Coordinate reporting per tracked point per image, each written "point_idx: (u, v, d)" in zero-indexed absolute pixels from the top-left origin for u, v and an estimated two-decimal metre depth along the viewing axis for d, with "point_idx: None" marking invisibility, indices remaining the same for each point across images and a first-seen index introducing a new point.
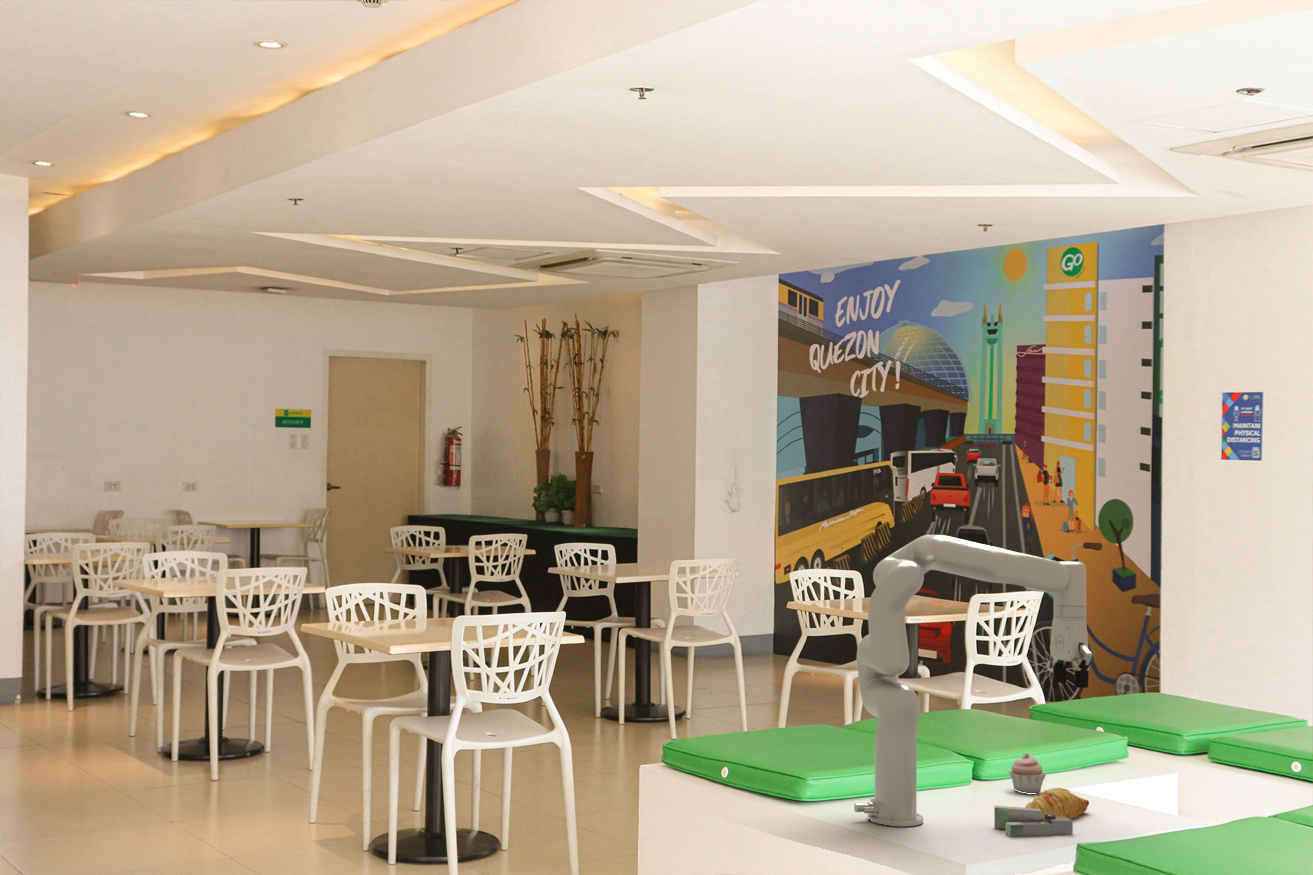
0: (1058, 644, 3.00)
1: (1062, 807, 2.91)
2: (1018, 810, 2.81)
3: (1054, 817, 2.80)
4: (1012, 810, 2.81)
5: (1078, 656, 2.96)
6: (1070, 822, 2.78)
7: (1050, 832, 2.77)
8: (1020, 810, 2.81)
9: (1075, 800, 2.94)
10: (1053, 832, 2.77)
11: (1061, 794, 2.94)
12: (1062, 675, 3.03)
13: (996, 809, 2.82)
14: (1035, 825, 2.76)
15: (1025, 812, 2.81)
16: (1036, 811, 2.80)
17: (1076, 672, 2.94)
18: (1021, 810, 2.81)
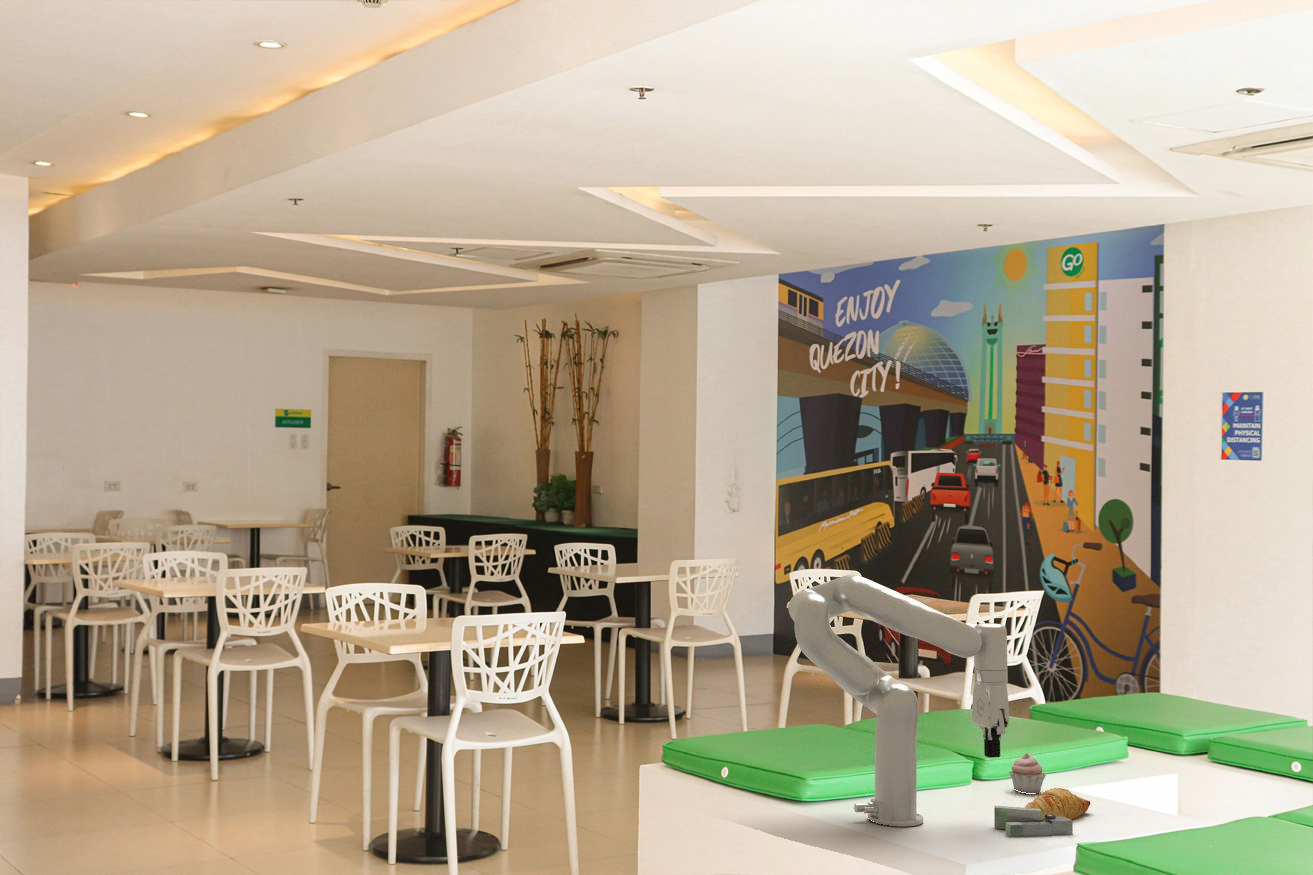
0: (979, 709, 2.91)
1: (1062, 807, 2.91)
2: (1018, 810, 2.81)
3: (1054, 817, 2.80)
4: (1012, 810, 2.81)
5: None
6: (1070, 822, 2.78)
7: (1050, 832, 2.77)
8: (1020, 810, 2.81)
9: (1075, 800, 2.93)
10: (1053, 832, 2.77)
11: (1061, 795, 2.93)
12: None
13: (996, 809, 2.82)
14: (1035, 825, 2.76)
15: (1025, 812, 2.81)
16: (1036, 811, 2.80)
17: (988, 742, 2.89)
18: (1021, 810, 2.81)
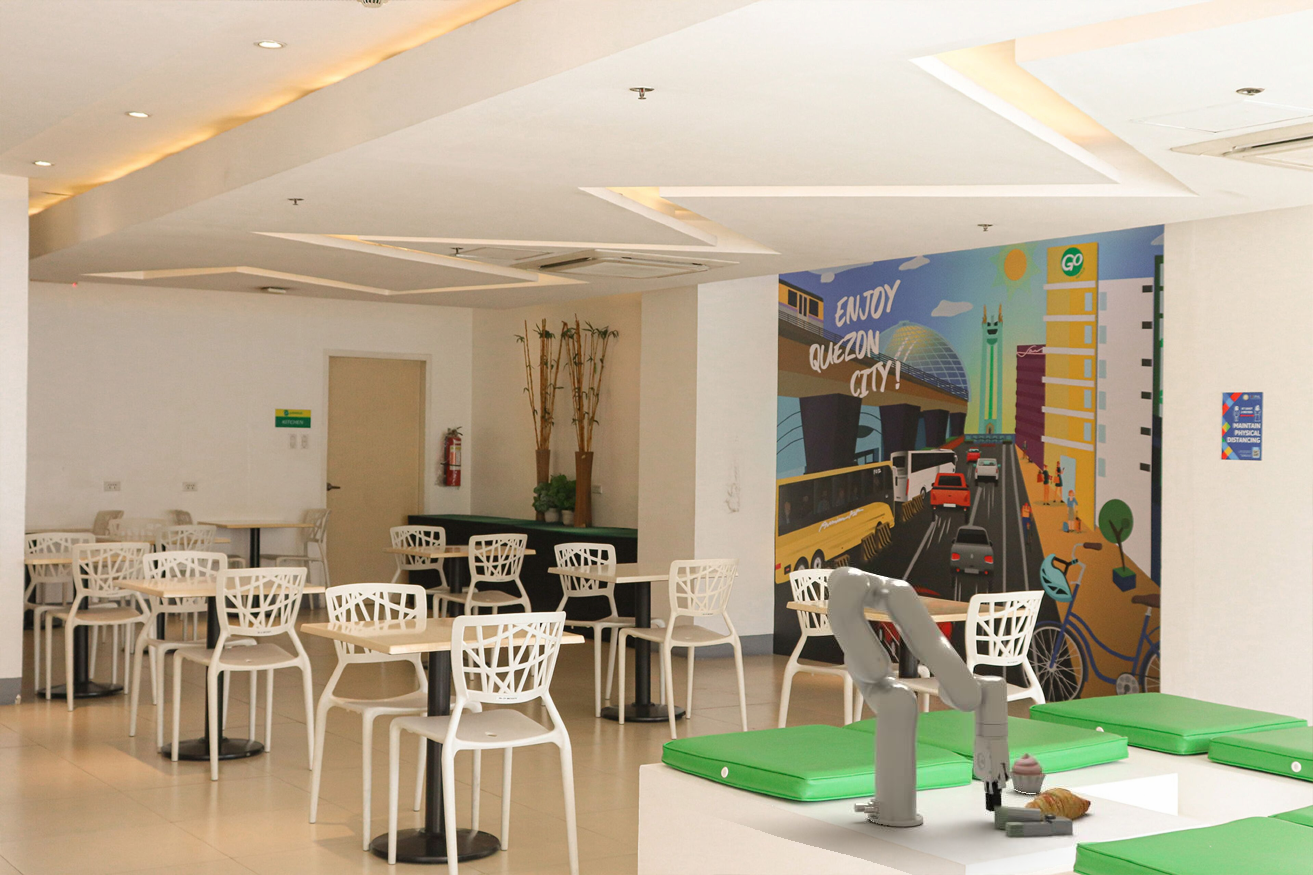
0: (980, 763, 2.90)
1: (1062, 807, 2.91)
2: (1018, 810, 2.81)
3: (1054, 817, 2.80)
4: (1012, 810, 2.81)
5: None
6: (1070, 822, 2.78)
7: (1050, 832, 2.77)
8: (1020, 810, 2.81)
9: (1075, 800, 2.93)
10: (1053, 832, 2.77)
11: (1061, 794, 2.93)
12: None
13: (996, 809, 2.82)
14: (1035, 825, 2.76)
15: (1025, 812, 2.81)
16: (1036, 811, 2.80)
17: (989, 795, 2.88)
18: (1021, 810, 2.81)
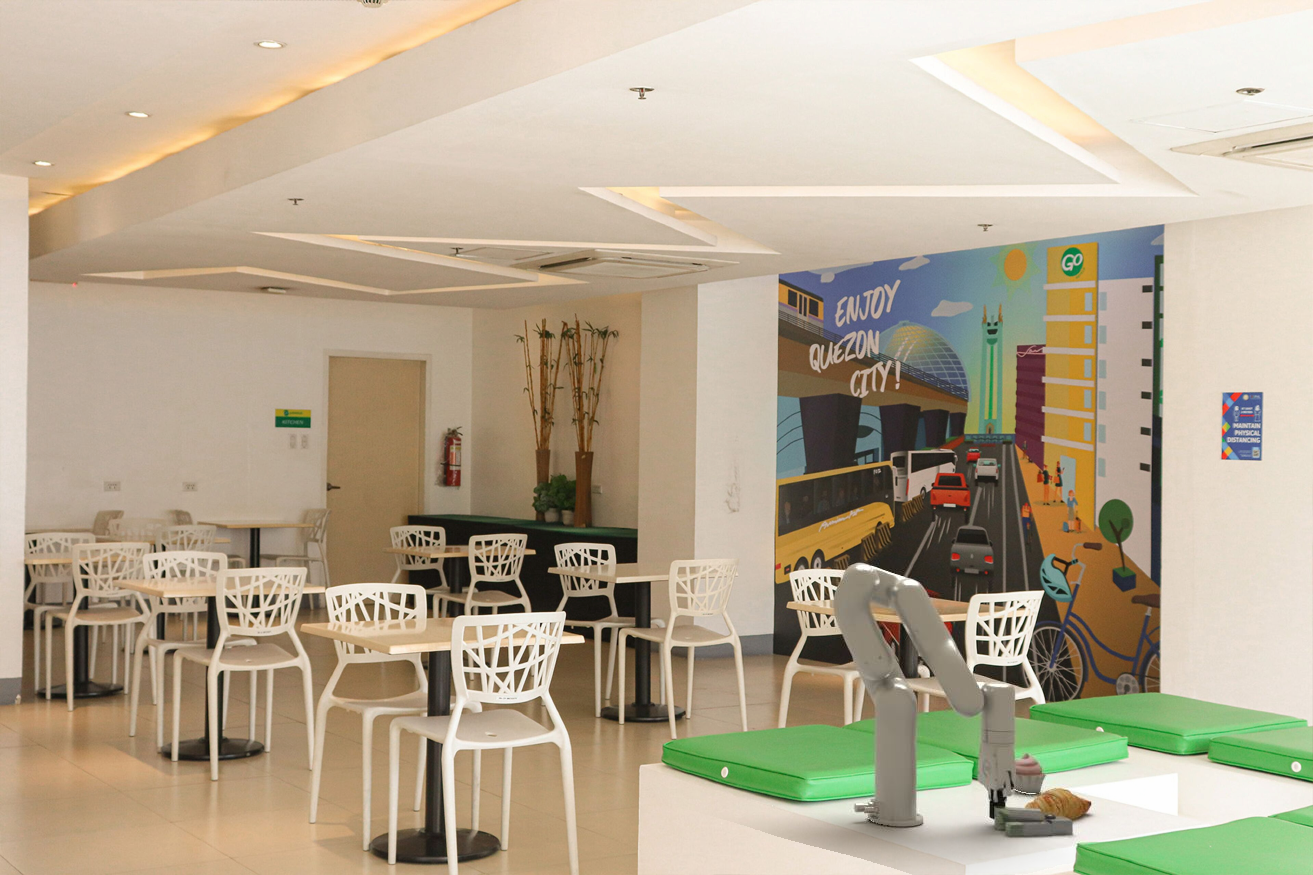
0: (985, 770, 2.86)
1: (1061, 808, 2.91)
2: (1019, 810, 2.81)
3: (1054, 817, 2.80)
4: (1013, 811, 2.81)
5: None
6: (1070, 822, 2.78)
7: (1050, 832, 2.77)
8: (1021, 810, 2.80)
9: (1076, 801, 2.93)
10: (1053, 832, 2.77)
11: (1061, 795, 2.93)
12: None
13: (997, 810, 2.81)
14: (1035, 825, 2.76)
15: (1025, 812, 2.80)
16: (1036, 811, 2.80)
17: (993, 803, 2.85)
18: (1022, 810, 2.80)
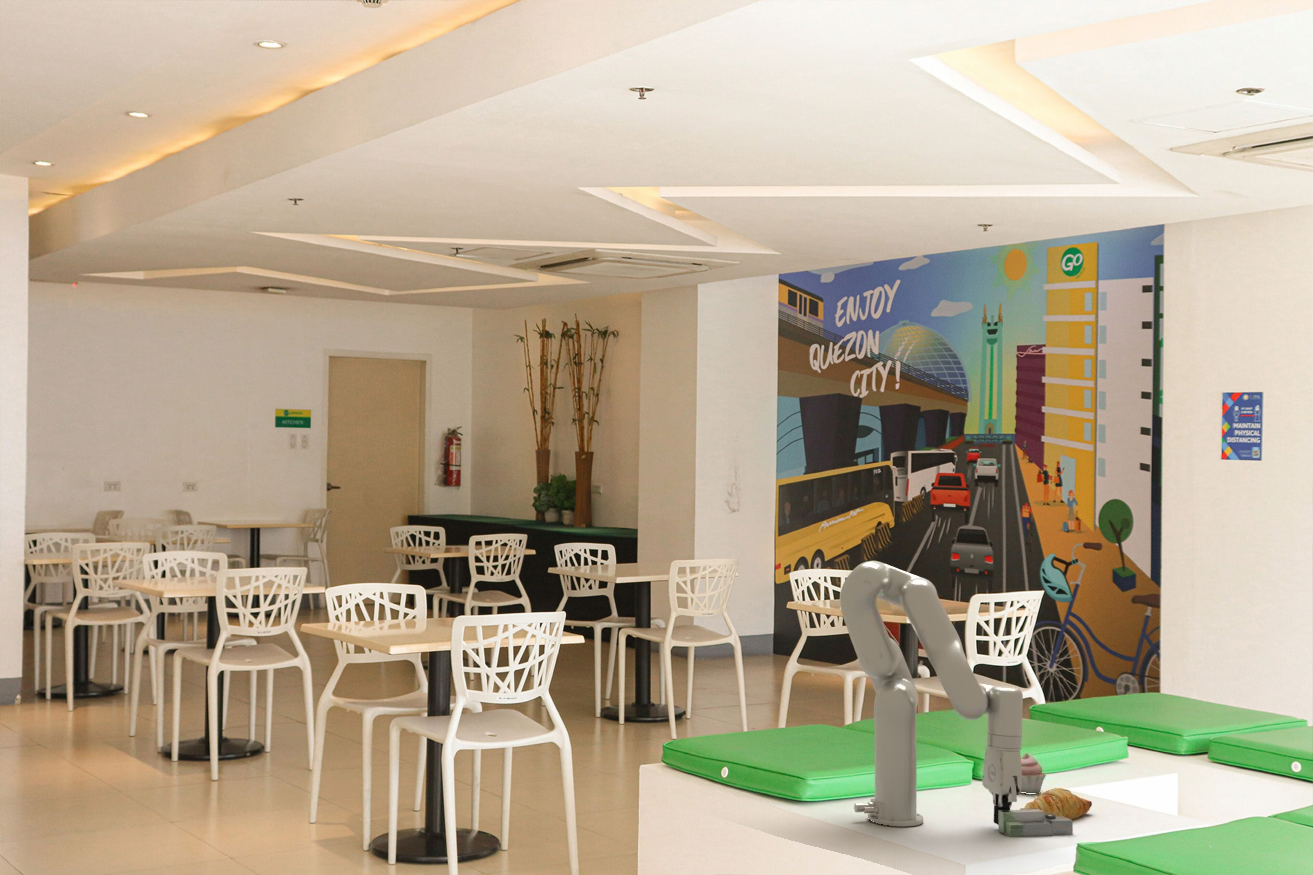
0: (990, 774, 2.82)
1: (1061, 807, 2.91)
2: (1024, 813, 2.78)
3: (1054, 817, 2.80)
4: (1019, 813, 2.78)
5: None
6: (1070, 822, 2.78)
7: (1050, 832, 2.77)
8: (1026, 812, 2.78)
9: (1076, 801, 2.93)
10: (1053, 832, 2.77)
11: (1061, 795, 2.93)
12: None
13: (1004, 814, 2.77)
14: (1035, 825, 2.76)
15: (1030, 814, 2.79)
16: (1039, 812, 2.79)
17: (998, 808, 2.81)
18: (1026, 812, 2.79)
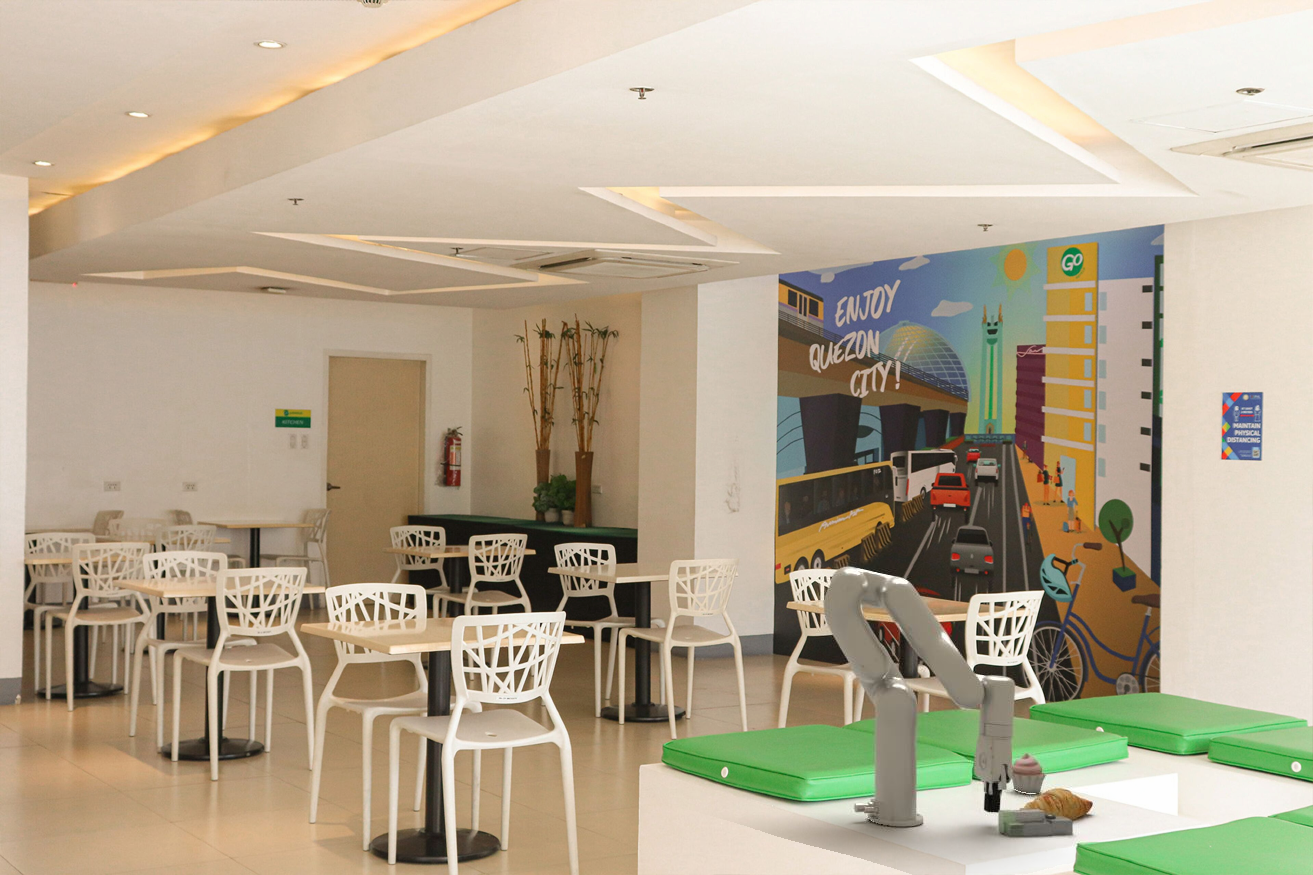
0: (981, 762, 2.87)
1: (1061, 807, 2.91)
2: (1024, 813, 2.78)
3: (1054, 817, 2.80)
4: (1018, 813, 2.78)
5: None
6: (1070, 822, 2.78)
7: (1050, 832, 2.77)
8: (1025, 812, 2.78)
9: (1076, 801, 2.93)
10: (1053, 832, 2.77)
11: (1061, 795, 2.93)
12: None
13: (1004, 814, 2.77)
14: (1035, 825, 2.76)
15: (1030, 814, 2.79)
16: (1039, 812, 2.79)
17: (988, 796, 2.85)
18: (1026, 812, 2.79)
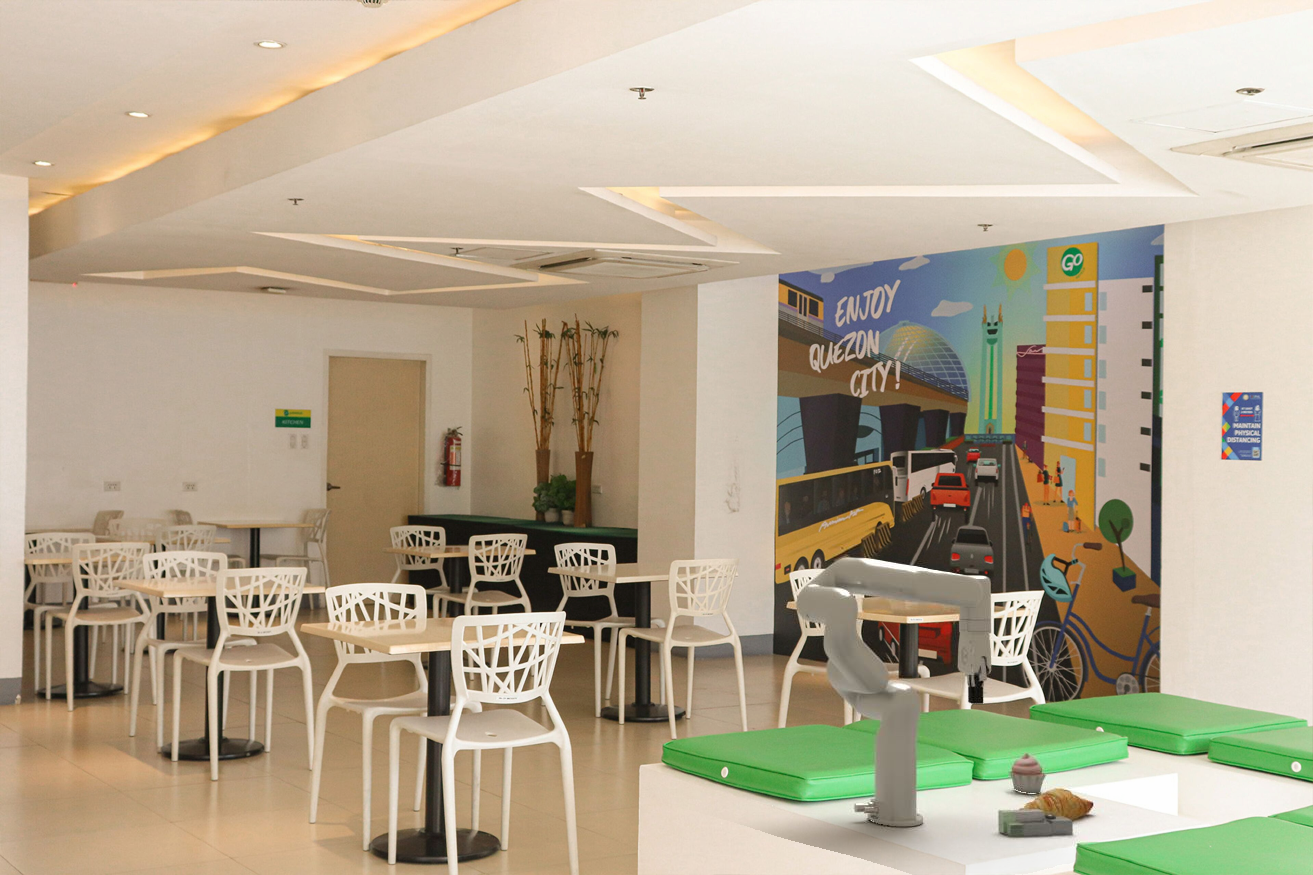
0: (963, 657, 3.03)
1: (1061, 808, 2.91)
2: (1024, 813, 2.78)
3: (1054, 817, 2.80)
4: (1018, 813, 2.78)
5: None
6: (1070, 822, 2.78)
7: (1050, 832, 2.77)
8: (1025, 812, 2.78)
9: (1076, 801, 2.93)
10: (1053, 832, 2.77)
11: (1061, 795, 2.93)
12: None
13: (1004, 814, 2.77)
14: (1035, 825, 2.76)
15: (1030, 814, 2.79)
16: (1039, 812, 2.79)
17: (971, 688, 3.01)
18: (1026, 812, 2.79)
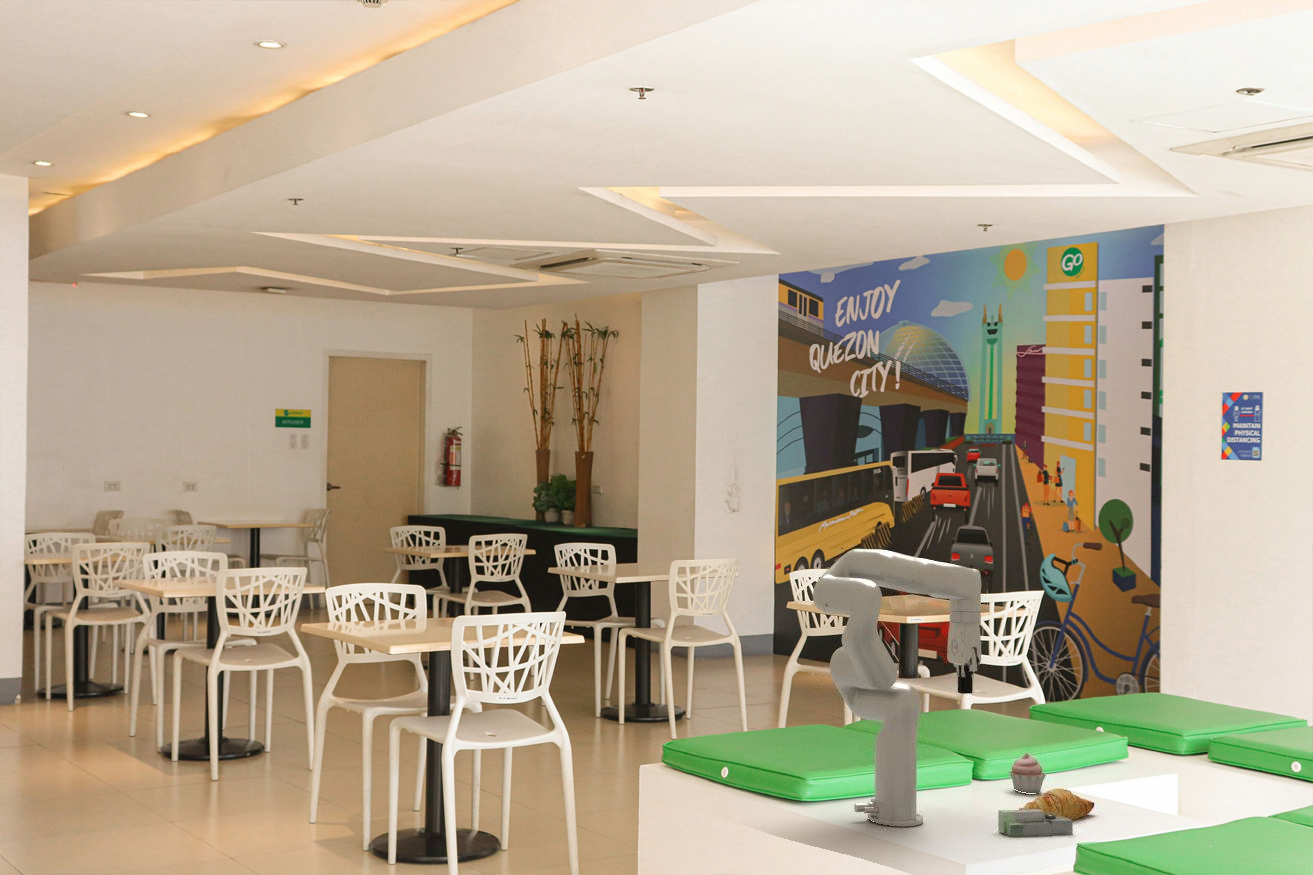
0: (953, 648, 3.09)
1: (1061, 808, 2.91)
2: (1024, 813, 2.78)
3: (1054, 817, 2.80)
4: (1018, 813, 2.78)
5: None
6: (1070, 822, 2.78)
7: (1050, 832, 2.77)
8: (1025, 812, 2.78)
9: (1076, 801, 2.92)
10: (1053, 832, 2.77)
11: (1061, 795, 2.93)
12: None
13: (1004, 814, 2.77)
14: (1035, 825, 2.76)
15: (1030, 814, 2.79)
16: (1039, 812, 2.79)
17: (961, 679, 3.08)
18: (1026, 812, 2.79)
